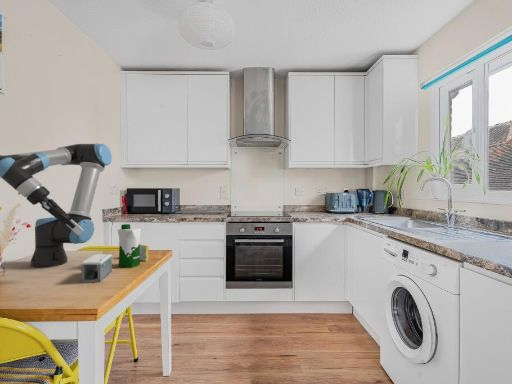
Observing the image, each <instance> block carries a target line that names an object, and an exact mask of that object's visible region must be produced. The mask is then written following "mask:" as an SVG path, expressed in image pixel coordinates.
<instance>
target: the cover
mask: <svg viewBox="0 0 512 384" xmlns="http://www.w3.org/2000/svg"><path fill="white" fill-rule="evenodd" d="M111 256H112V257H113V254H110V253H108V254H107V253H106V254H104V253H96V254H93V255H91V256H90V257H88V258H87V259H85V260H84V261H82V262H81V265H82V264H97V265H98V264H102V263H103V262H105V261H106V260H107V259H109V258H110V257H111Z"/></svg>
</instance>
